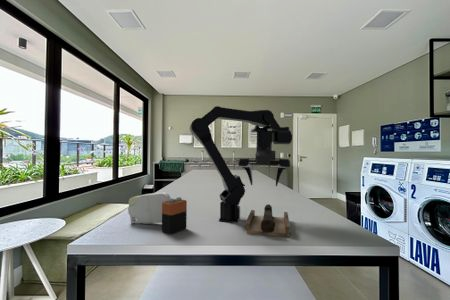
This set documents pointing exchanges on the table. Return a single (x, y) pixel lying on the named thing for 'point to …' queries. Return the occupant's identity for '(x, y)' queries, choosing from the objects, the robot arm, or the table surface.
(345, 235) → the table surface
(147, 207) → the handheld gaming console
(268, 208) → the hand tool
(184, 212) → the battery
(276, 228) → the tool cradle
